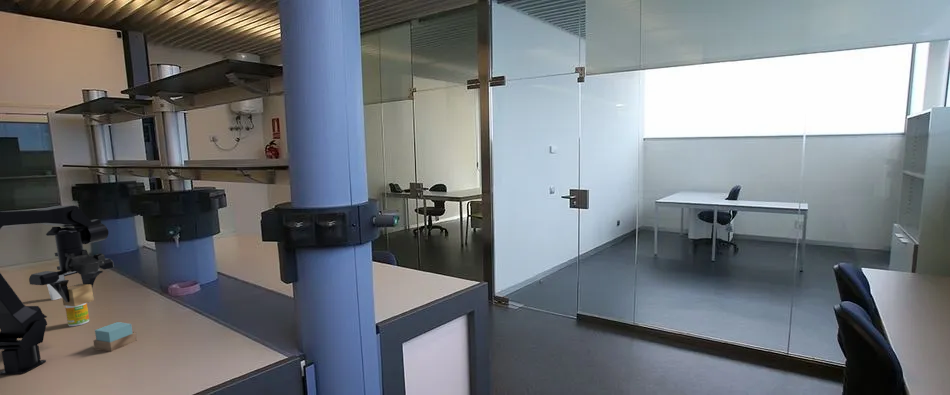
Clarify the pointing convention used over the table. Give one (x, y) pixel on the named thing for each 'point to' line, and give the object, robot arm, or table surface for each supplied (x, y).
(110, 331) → the tower top block
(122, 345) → the tower base block
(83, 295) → the oak cube
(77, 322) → the supplement bottle
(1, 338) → the robot arm
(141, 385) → the table surface
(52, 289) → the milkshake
